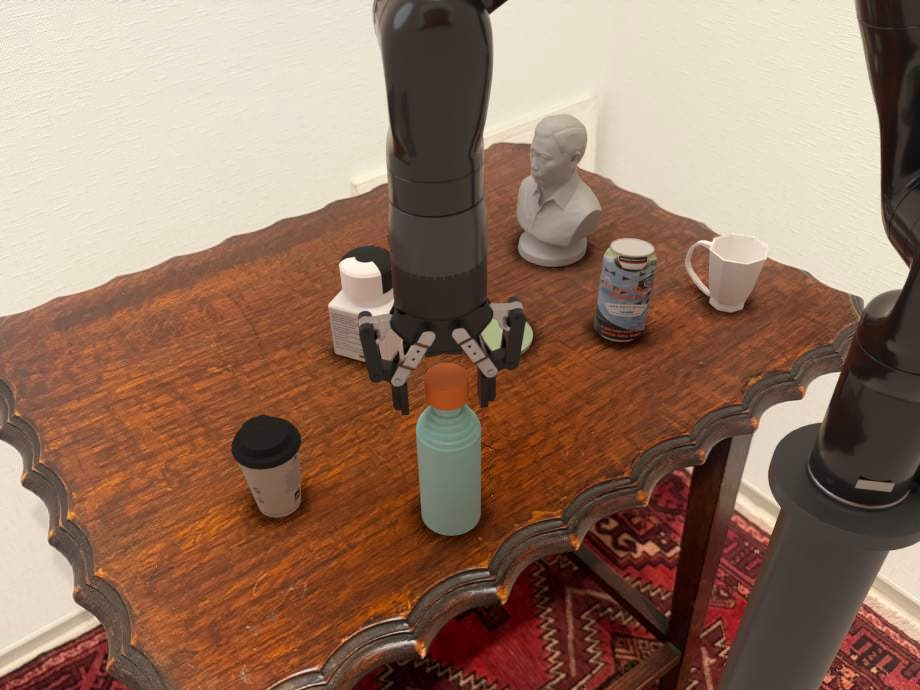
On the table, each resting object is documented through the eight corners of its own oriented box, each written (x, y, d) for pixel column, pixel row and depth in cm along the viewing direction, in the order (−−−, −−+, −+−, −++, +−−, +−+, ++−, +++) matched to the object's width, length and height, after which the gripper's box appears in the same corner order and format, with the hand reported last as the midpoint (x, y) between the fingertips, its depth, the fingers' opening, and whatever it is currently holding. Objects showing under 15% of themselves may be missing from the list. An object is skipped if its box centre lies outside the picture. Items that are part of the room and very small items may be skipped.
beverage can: (590, 346, 106) (599, 263, 98) (596, 311, 111) (605, 229, 103) (643, 352, 104) (657, 268, 96) (647, 316, 109) (660, 233, 101)
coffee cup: (324, 506, 90) (312, 437, 83) (265, 537, 87) (247, 469, 81) (292, 466, 94) (278, 398, 88) (235, 495, 92) (216, 428, 85)
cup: (736, 326, 106) (750, 270, 101) (666, 294, 112) (675, 240, 107) (767, 300, 110) (782, 246, 104) (697, 271, 115) (708, 217, 110)
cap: (472, 408, 76) (472, 388, 74) (428, 413, 76) (427, 393, 74) (465, 379, 79) (464, 360, 77) (423, 384, 79) (421, 365, 77)
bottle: (474, 486, 90) (473, 356, 79) (486, 531, 86) (487, 400, 74) (417, 494, 90) (408, 365, 78) (426, 539, 86) (418, 410, 74)
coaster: (523, 311, 112) (523, 308, 111) (541, 355, 105) (541, 351, 105) (454, 321, 111) (454, 317, 111) (467, 365, 105) (467, 361, 104)
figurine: (560, 281, 116) (572, 145, 103) (496, 243, 124) (499, 112, 111) (609, 254, 120) (626, 120, 107) (543, 219, 128) (552, 90, 115)
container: (363, 319, 113) (353, 233, 104) (416, 333, 110) (411, 245, 101) (333, 354, 108) (320, 267, 99) (388, 370, 105) (380, 281, 96)
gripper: (346, 282, 64) (366, 442, 75) (541, 263, 64) (531, 426, 75) (343, 229, 70) (362, 385, 81) (522, 212, 69) (516, 370, 81)
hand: (444, 404), depth 78 cm, fingers open, 6 cm apart
